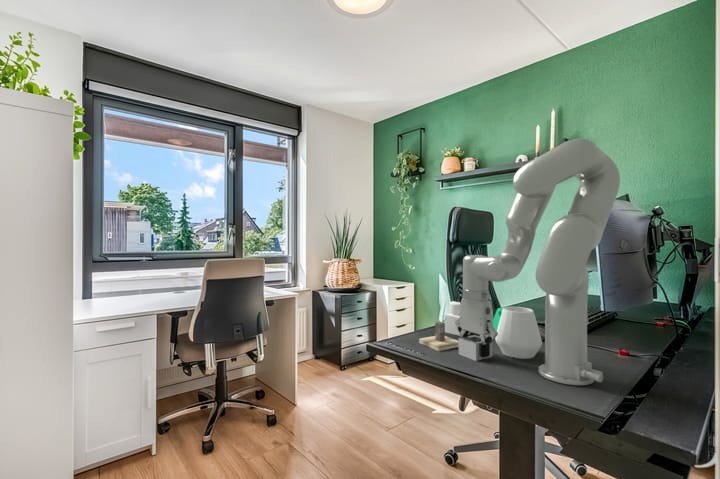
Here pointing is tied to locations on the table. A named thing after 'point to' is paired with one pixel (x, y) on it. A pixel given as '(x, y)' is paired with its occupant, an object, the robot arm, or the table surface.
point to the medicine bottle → (453, 318)
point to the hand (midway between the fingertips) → (475, 352)
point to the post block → (439, 339)
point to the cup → (518, 333)
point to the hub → (472, 347)
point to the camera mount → (497, 318)
